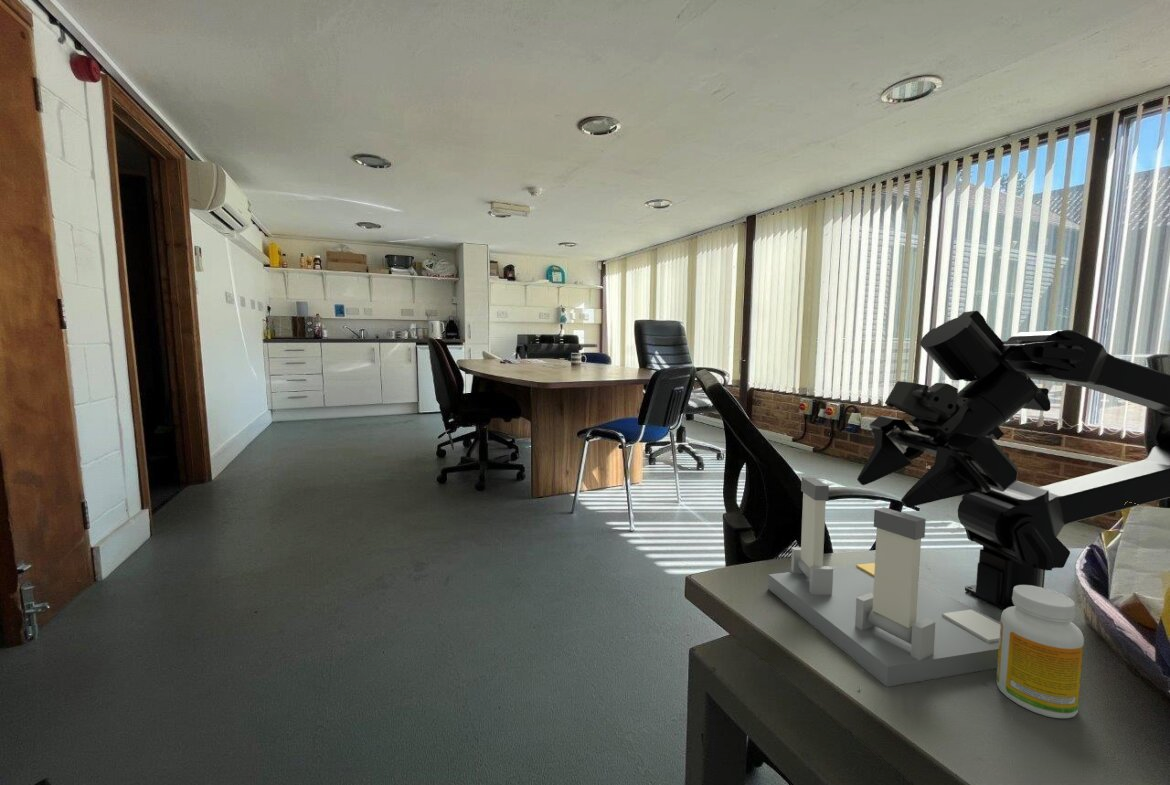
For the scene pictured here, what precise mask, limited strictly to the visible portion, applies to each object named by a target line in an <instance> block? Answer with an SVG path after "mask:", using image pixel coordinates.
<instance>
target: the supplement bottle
mask: <svg viewBox="0 0 1170 785" xmlns="http://www.w3.org/2000/svg"><path fill="white" fill-rule="evenodd" d="M1012 601H1013V604H1014V605H1015V606H1012V607H1008V608H1006V609H1005V610H1004V609H1003V611H1002V613H1001V616H1000V621H999V622H1000V637H999V650H998V662H997V668H996V684H997V685H996V686H997V688H998V689H999V690H1000V691H1001V693H1002V694H1004V695H1005V697H1006V698H1008V699H1009V700H1011V701H1012V702H1014V703H1016V704H1017V705H1019V706H1021V707H1023V708H1024V709H1027V710H1028V711H1031V712H1033V713H1036V714H1039V715H1042V716H1044V717H1048V718H1053V719H1071V718H1073V717H1076V715H1077V714H1078V711H1079V706H1080V705H1079V704H1080V691H1081V679H1082V668H1083V665H1082V664H1083V654H1084V645H1085V643H1084V642H1085V638H1084V635H1083V632H1082V631H1081V629H1080V628H1079V627H1078V626H1077V625H1076V624H1075V623H1074V622H1073V621H1074V620H1075V613H1076V604H1075V602H1074V601H1073V599H1071V598H1070V597H1068V596H1067V595H1065V594H1062V593H1060V592H1059V591H1058V592H1057V591H1055V590H1053V589H1049V588H1045V587H1044V588H1042V587H1037V586H1031V585H1017V586H1015V587H1014V588H1013V596H1012Z"/></svg>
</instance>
